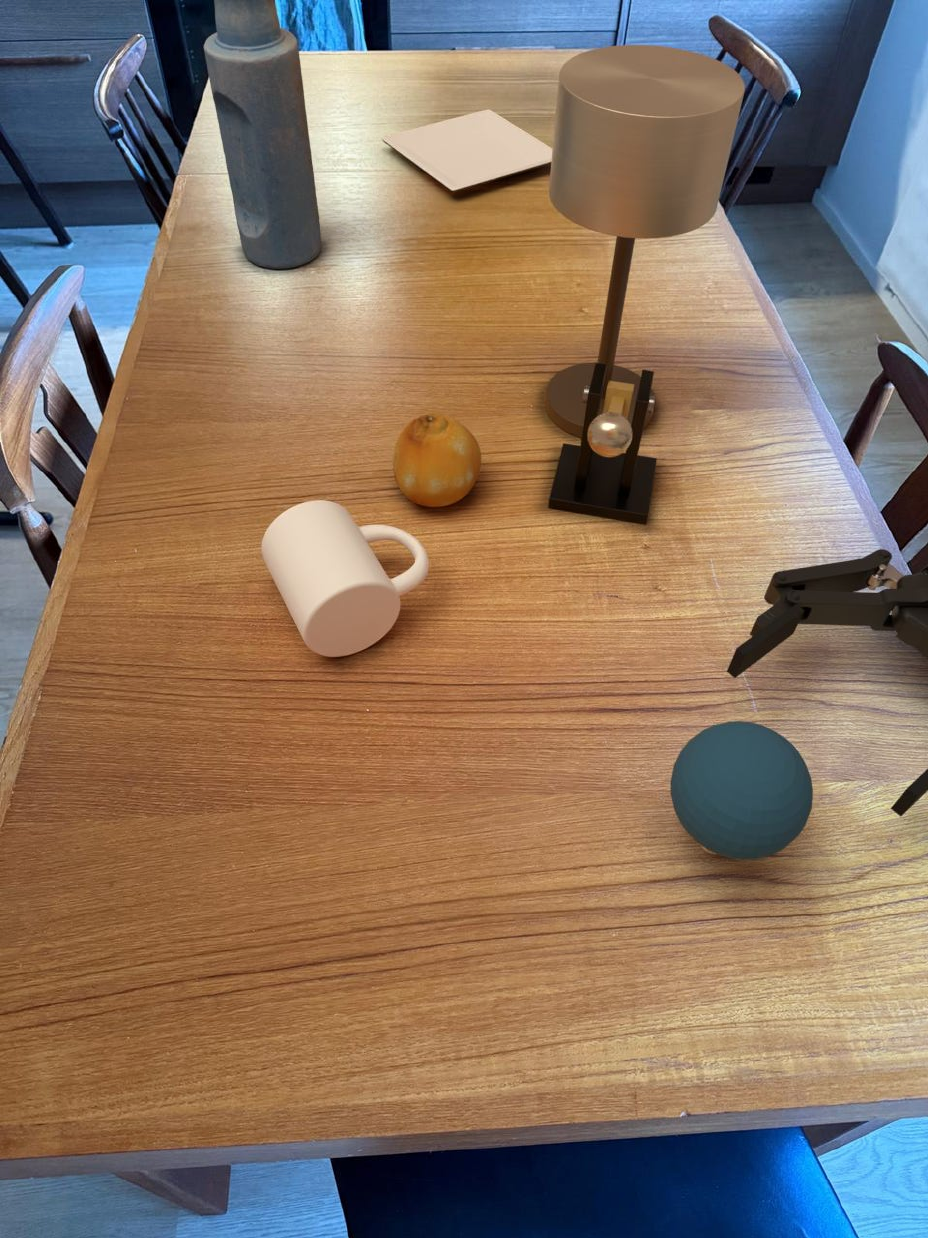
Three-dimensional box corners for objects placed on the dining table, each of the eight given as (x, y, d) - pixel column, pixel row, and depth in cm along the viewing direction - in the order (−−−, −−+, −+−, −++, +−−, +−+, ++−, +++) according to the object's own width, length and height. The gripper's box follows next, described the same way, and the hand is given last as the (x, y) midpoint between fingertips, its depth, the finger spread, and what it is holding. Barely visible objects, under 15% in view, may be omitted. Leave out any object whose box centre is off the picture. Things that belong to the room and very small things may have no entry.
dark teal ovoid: (627, 812, 63) (659, 718, 53) (731, 775, 65) (778, 678, 55) (688, 923, 58) (735, 841, 48) (798, 879, 60) (863, 792, 50)
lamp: (661, 461, 86) (741, 126, 63) (518, 438, 88) (544, 104, 64) (673, 376, 95) (748, 54, 71) (543, 357, 97) (574, 36, 73)
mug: (310, 671, 70) (297, 605, 64) (268, 585, 75) (252, 517, 69) (448, 619, 73) (448, 551, 67) (398, 540, 79) (394, 471, 73)
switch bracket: (646, 524, 81) (671, 419, 72) (547, 507, 82) (560, 402, 73) (654, 467, 86) (679, 362, 77) (561, 452, 87) (575, 346, 78)
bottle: (338, 250, 110) (310, -43, 87) (274, 280, 106) (226, -21, 83) (289, 222, 114) (250, -65, 91) (226, 250, 110) (167, -45, 87)
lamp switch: (626, 465, 64) (635, 421, 62) (582, 458, 64) (589, 413, 63) (634, 417, 78) (641, 380, 76) (597, 411, 78) (604, 374, 77)
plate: (452, 204, 118) (452, 188, 117) (381, 151, 128) (380, 135, 126) (564, 170, 125) (566, 155, 123) (488, 122, 135) (489, 107, 133)
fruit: (369, 447, 83) (390, 410, 76) (447, 427, 86) (474, 390, 79) (400, 528, 83) (424, 499, 75) (477, 506, 86) (508, 475, 78)
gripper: (1123, 718, 64) (958, 895, 56) (836, 524, 77) (665, 645, 68) (1190, 655, 59) (1018, 843, 50) (869, 456, 71) (686, 579, 62)
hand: (814, 729), depth 59 cm, fingers open, 13 cm apart
